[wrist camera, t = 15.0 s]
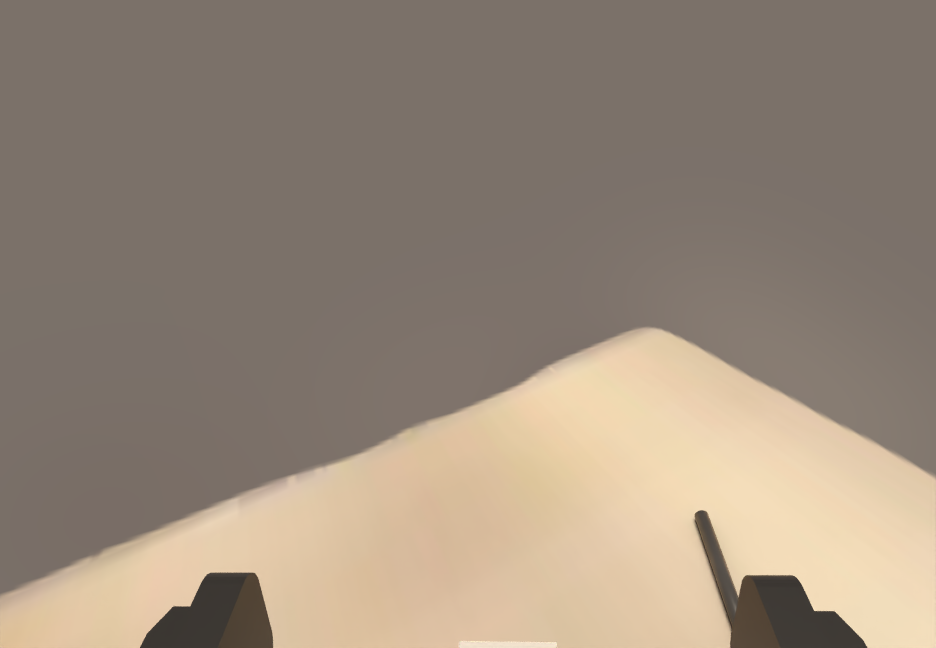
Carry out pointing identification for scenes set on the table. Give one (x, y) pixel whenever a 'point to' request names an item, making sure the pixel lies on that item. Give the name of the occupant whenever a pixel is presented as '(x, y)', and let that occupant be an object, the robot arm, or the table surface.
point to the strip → (718, 564)
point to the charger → (506, 644)
